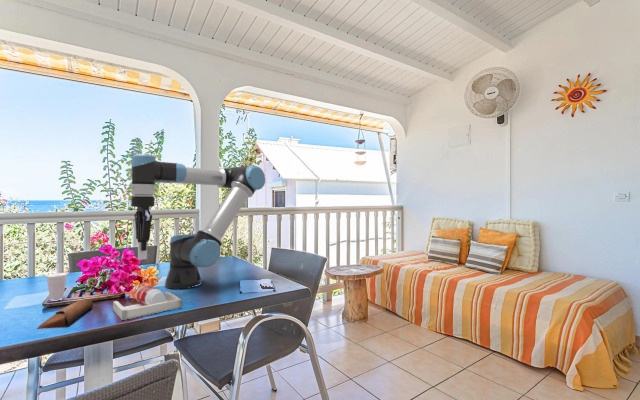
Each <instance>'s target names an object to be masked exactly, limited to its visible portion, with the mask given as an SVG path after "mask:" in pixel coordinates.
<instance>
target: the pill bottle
mask: <svg viewBox="0 0 640 400" xmlns="http://www.w3.org/2000/svg"><path fill="white" fill-rule="evenodd" d="M135 300H136V301H137V302H139V303H140V304H141V303H143V304H145V305H151V304H156V303H161V302H164V300H165V294H164V293H163V292H162V291H161V290H160V289H159V288H156V287H152V286H151V285H150V286H149V285H142V286H140V287H139V288H138V289H137V291H136V292H135Z"/></svg>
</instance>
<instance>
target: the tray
mask: <svg viewBox="0 0 640 400" xmlns="http://www.w3.org/2000/svg"><path fill="white" fill-rule="evenodd" d="M164 296H165V300H164V302H161V303H156V304H151V305H145V304H143V303H141V302H140V303H137V304H132V305H127V306H125V305H124V306H123V305H122V304H121V303H120V302H119V301H117V300H115V301H114V300H113V302H112V306H113V307H112V311H113V313H114V314H116V315H117V316H118V318H119V319H121V321H122V320H125V321H128V320H127V319H129V320H134V319H137V318H136V317H139V318H142V317H141V316H143V317H147V316H146V315H148V316H152V315H155V314H154V313H157V314H159V313H158V312H162V313H164V312H163V311H166V312H168V311H167V310H171V311H173V310H172V309H175V310H177V309H176V308H180V309H182V308H183V306H182V305H183V304H182V303H183V299H182V298H181V297H178V296H177V295H175V294H173V293H171V292H170V291H165V294H164ZM181 307H182V308H181ZM151 314H152V315H151ZM133 318H134V319H133Z"/></svg>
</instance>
